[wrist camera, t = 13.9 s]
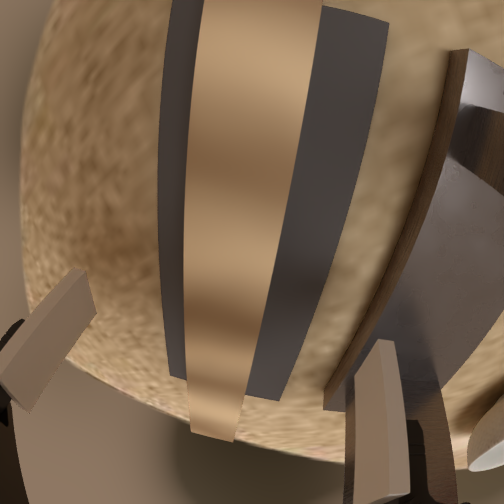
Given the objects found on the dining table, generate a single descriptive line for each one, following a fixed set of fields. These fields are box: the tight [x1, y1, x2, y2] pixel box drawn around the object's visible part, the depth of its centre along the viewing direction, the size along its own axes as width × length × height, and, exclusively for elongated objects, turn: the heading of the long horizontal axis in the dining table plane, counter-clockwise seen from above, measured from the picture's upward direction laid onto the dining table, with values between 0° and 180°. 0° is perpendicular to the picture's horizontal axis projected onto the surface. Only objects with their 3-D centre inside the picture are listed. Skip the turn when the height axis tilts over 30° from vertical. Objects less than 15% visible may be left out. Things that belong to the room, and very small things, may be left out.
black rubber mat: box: [158, 0, 389, 401], centre depth 18 cm, size 28×10×1 cm, turn 172°
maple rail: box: [184, 0, 323, 442], centre depth 15 cm, size 30×4×4 cm, turn 172°
